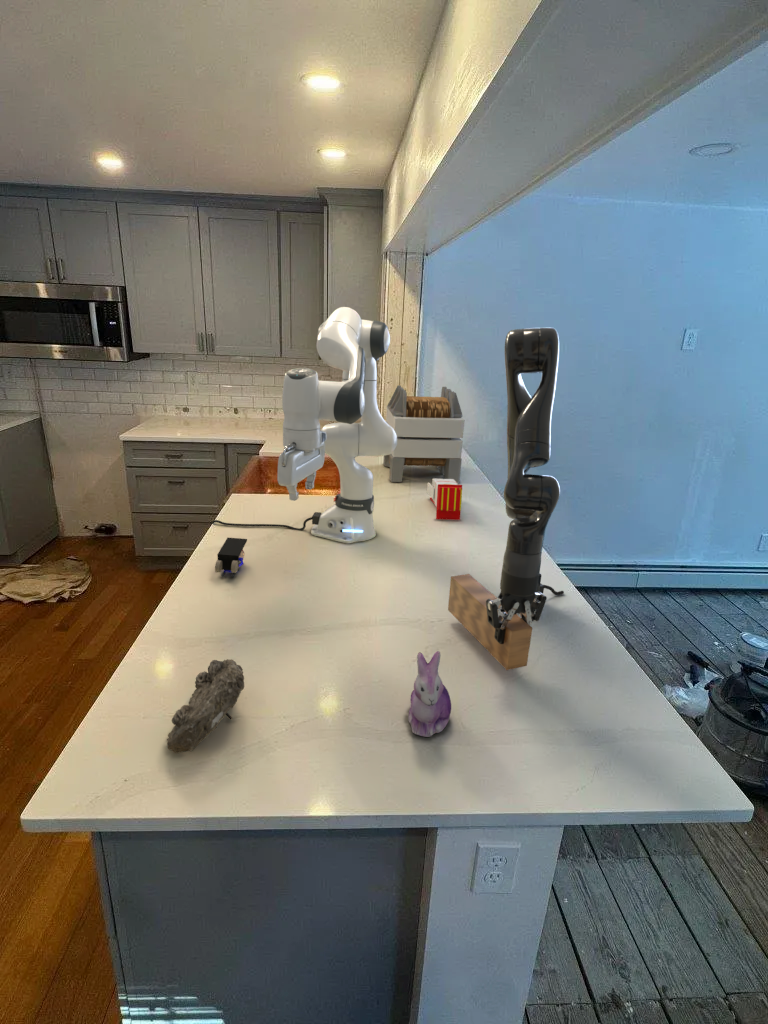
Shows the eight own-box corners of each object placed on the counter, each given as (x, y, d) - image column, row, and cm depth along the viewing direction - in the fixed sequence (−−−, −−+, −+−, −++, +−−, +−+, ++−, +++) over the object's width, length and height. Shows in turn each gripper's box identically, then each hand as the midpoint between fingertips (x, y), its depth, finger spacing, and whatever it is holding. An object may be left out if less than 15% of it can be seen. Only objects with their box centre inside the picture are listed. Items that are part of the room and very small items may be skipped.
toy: (454, 474, 240) (466, 486, 210) (452, 505, 242) (464, 521, 213) (426, 473, 239) (434, 485, 210) (424, 504, 242) (432, 520, 212)
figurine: (421, 746, 103) (427, 677, 98) (394, 712, 111) (398, 646, 106) (464, 731, 107) (471, 664, 102) (435, 699, 116) (441, 635, 110)
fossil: (192, 660, 117) (244, 628, 112) (224, 691, 120) (276, 661, 115) (142, 746, 98) (202, 712, 93) (182, 779, 101) (242, 748, 96)
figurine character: (238, 584, 162) (249, 557, 175) (236, 562, 158) (247, 536, 172) (215, 584, 161) (227, 556, 175) (212, 561, 158) (225, 535, 171)
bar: (447, 610, 144) (450, 576, 140) (465, 607, 145) (468, 573, 142) (506, 670, 120) (511, 631, 117) (526, 666, 122) (532, 627, 119)
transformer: (382, 463, 289) (386, 382, 275) (445, 464, 293) (451, 384, 279) (390, 482, 257) (394, 392, 243) (460, 483, 261) (468, 394, 247)
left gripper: (295, 449, 125) (296, 508, 130) (329, 432, 144) (328, 484, 148) (269, 446, 127) (271, 505, 131) (306, 429, 145) (306, 481, 150)
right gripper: (501, 580, 111) (491, 655, 117) (561, 571, 116) (549, 643, 122) (481, 565, 117) (473, 636, 123) (538, 557, 123) (528, 626, 128)
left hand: (302, 494), depth 140 cm, fingers open, 8 cm apart
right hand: (511, 639), depth 122 cm, fingers closed on bar, 5 cm apart
